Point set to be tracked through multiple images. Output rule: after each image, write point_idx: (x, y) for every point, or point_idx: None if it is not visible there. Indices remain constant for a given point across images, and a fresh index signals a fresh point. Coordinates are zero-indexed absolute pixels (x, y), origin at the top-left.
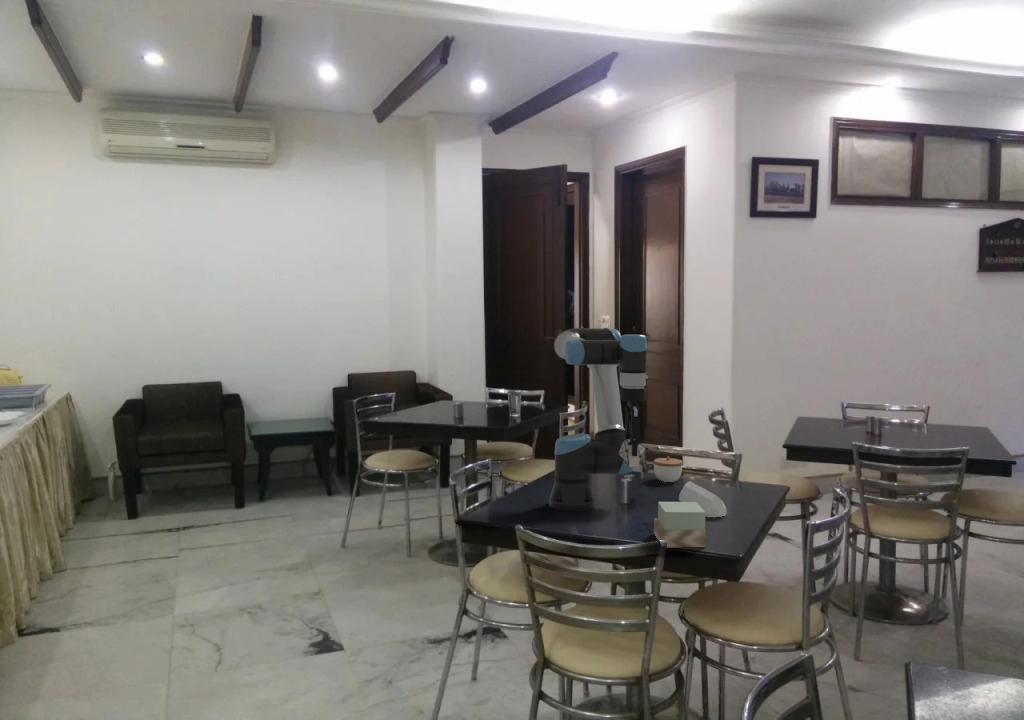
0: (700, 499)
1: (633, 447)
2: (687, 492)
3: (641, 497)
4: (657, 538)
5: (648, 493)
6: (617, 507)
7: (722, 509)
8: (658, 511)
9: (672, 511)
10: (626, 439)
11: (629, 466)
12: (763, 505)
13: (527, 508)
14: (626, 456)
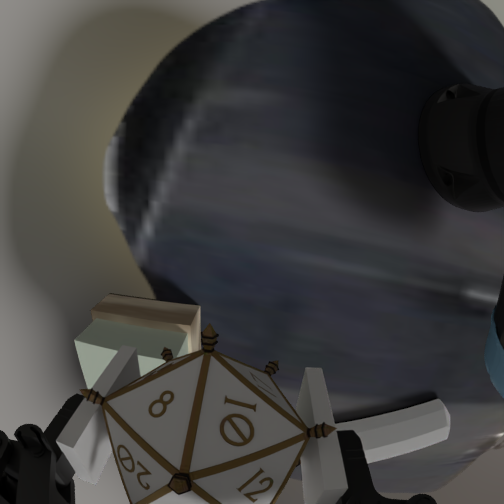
0: (363, 441)
1: (46, 435)
2: (423, 424)
3: (486, 332)
4: (152, 302)
5: None
6: (441, 265)
7: None
8: (174, 344)
9: (82, 357)
10: (344, 491)
11: (121, 347)
12: None
13: (438, 31)
14: (140, 378)
